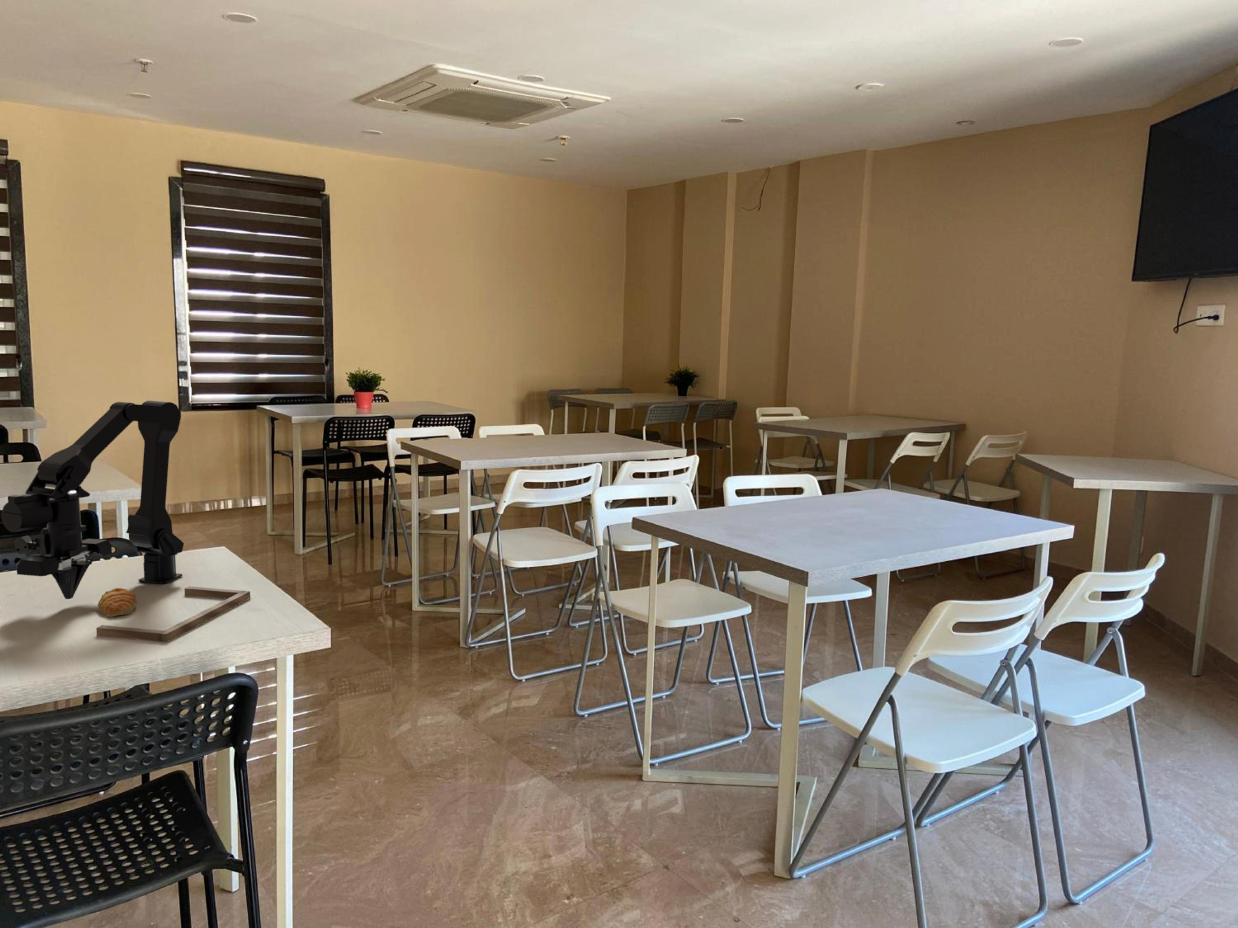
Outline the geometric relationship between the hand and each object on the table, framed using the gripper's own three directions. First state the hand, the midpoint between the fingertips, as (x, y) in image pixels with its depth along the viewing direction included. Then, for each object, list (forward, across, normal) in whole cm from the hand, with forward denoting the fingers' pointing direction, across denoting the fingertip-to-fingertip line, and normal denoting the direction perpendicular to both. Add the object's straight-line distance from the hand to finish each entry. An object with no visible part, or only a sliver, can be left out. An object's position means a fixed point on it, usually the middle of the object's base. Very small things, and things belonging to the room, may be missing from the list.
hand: (68, 598), depth 179 cm
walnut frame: (+2, 0, +24) cm, 24 cm away
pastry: (+2, -1, +10) cm, 11 cm away
